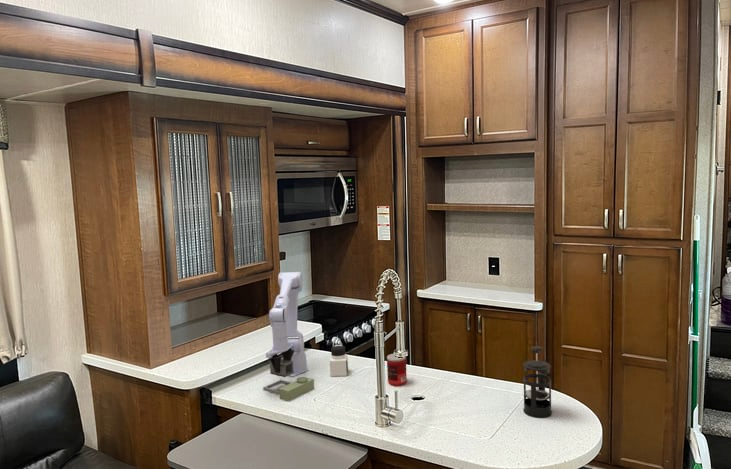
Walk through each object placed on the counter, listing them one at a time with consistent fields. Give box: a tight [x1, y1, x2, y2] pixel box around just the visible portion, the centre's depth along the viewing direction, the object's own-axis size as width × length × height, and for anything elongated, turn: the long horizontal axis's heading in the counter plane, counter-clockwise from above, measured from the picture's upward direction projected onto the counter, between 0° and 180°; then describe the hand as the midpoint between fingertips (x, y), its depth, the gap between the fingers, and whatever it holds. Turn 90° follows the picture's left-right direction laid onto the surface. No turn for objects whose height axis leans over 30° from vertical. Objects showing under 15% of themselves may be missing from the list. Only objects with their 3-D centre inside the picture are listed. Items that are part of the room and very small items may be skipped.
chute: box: [269, 358, 294, 378], centre depth 210 cm, size 8×5×5 cm, turn 55°
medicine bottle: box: [329, 344, 349, 378], centre depth 225 cm, size 7×7×12 cm
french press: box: [522, 345, 553, 419], centre depth 180 cm, size 12×9×23 cm
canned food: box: [386, 353, 408, 387], centre depth 212 cm, size 8×8×11 cm
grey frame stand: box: [262, 376, 315, 402], centre depth 209 cm, size 14×17×5 cm
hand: (282, 370), depth 210 cm, fingers closed on chute, 5 cm apart
